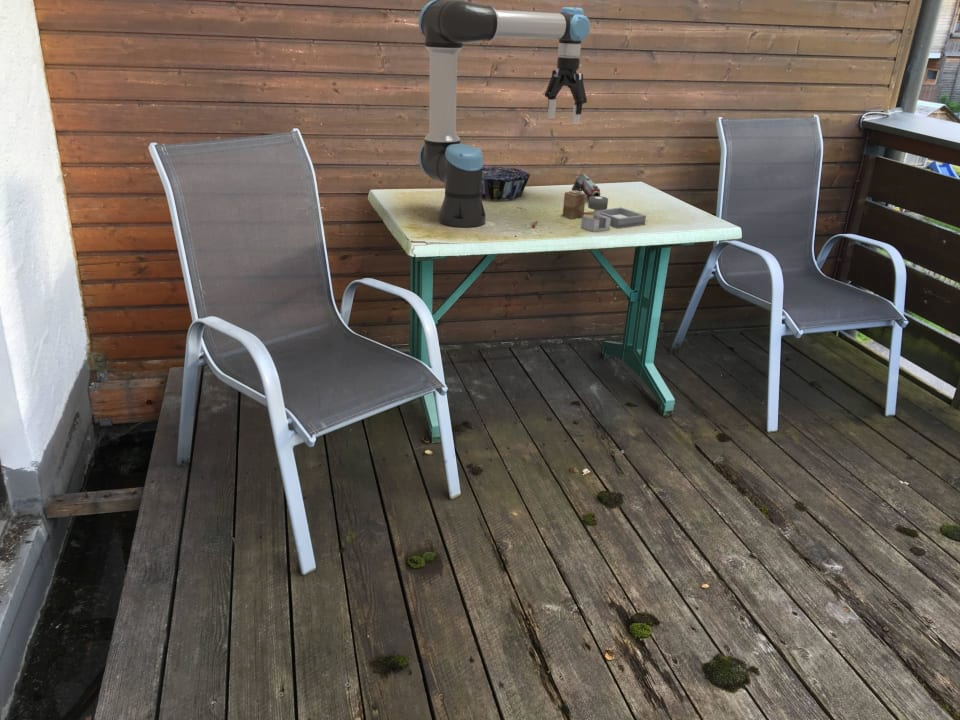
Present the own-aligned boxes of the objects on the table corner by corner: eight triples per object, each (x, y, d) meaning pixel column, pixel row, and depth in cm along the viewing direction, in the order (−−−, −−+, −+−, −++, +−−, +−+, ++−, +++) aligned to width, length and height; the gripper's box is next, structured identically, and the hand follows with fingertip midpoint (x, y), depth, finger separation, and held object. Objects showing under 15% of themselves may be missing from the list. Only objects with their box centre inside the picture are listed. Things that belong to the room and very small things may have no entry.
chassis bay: (617, 228, 250) (618, 219, 248) (593, 219, 259) (594, 210, 257) (644, 224, 256) (646, 215, 254) (620, 216, 265) (621, 207, 263)
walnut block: (571, 219, 258) (574, 193, 254) (562, 215, 262) (564, 190, 258) (583, 217, 260) (586, 192, 257) (573, 214, 264) (576, 189, 261)
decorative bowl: (522, 210, 274) (526, 182, 269) (446, 198, 277) (449, 170, 272) (530, 195, 297) (534, 169, 292) (461, 183, 300) (463, 158, 295)
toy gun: (587, 213, 281) (592, 187, 275) (568, 191, 296) (572, 166, 290) (598, 213, 282) (603, 187, 276) (579, 191, 297) (583, 166, 291)
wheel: (595, 220, 243) (597, 200, 240) (583, 215, 247) (585, 196, 245) (609, 218, 246) (612, 198, 243) (597, 213, 250) (599, 194, 248)
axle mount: (593, 232, 244) (594, 220, 243) (580, 227, 249) (582, 215, 247) (609, 229, 248) (611, 218, 246) (597, 225, 252) (598, 213, 251)
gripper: (601, 59, 256) (594, 126, 265) (554, 54, 274) (549, 116, 283) (584, 59, 252) (577, 126, 261) (537, 54, 270) (533, 116, 279)
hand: (563, 121), depth 272 cm, fingers open, 13 cm apart
